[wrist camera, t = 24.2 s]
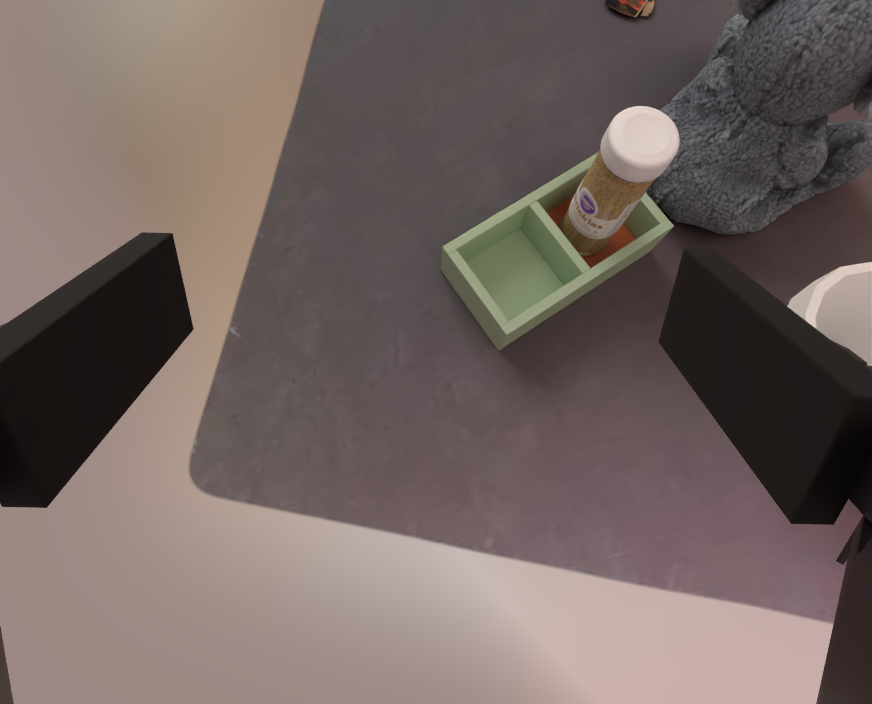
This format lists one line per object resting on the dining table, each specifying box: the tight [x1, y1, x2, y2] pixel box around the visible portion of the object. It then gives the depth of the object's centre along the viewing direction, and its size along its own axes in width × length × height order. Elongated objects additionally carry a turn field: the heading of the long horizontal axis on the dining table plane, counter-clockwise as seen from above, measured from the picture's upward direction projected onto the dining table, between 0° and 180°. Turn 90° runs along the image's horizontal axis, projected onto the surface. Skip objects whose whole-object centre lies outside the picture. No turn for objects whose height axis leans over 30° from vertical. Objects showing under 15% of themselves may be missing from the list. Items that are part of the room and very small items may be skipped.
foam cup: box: [787, 262, 872, 366], centre depth 38 cm, size 10×9×13 cm
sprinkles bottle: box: [559, 106, 680, 256], centre depth 40 cm, size 5×5×14 cm
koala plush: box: [646, 0, 872, 235], centre depth 40 cm, size 17×18×20 cm
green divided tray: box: [441, 153, 674, 351], centre depth 45 cm, size 9×16×5 cm, turn 124°
